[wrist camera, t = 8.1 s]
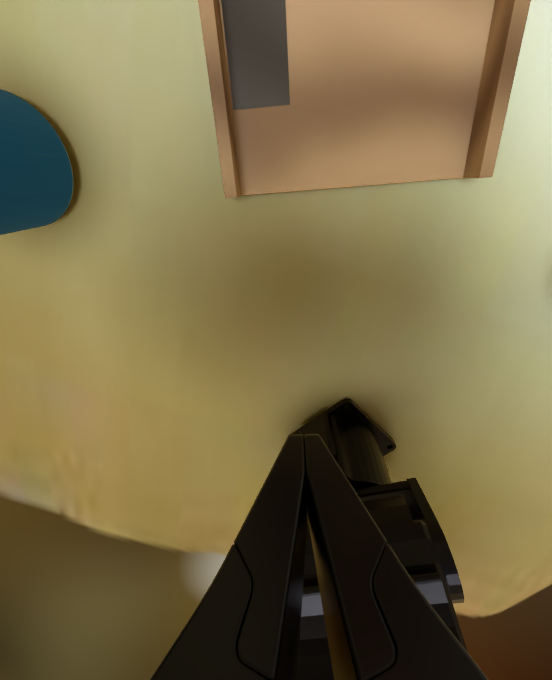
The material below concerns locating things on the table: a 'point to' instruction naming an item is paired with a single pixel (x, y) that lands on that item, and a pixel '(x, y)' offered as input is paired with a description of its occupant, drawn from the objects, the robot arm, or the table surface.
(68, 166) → the beverage can
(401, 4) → the box
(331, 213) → the table surface
